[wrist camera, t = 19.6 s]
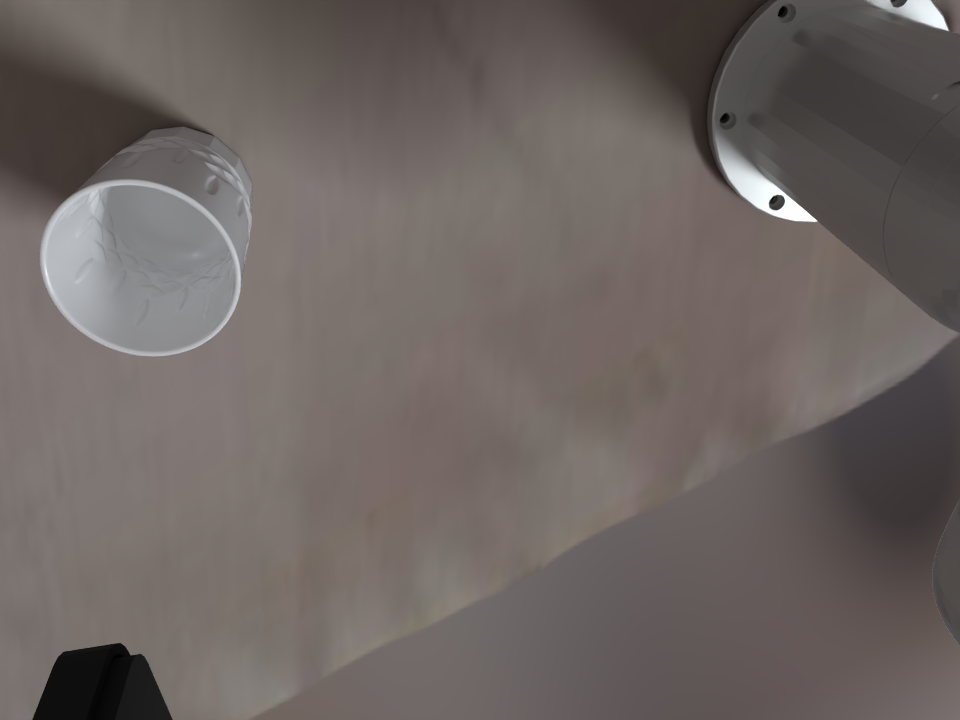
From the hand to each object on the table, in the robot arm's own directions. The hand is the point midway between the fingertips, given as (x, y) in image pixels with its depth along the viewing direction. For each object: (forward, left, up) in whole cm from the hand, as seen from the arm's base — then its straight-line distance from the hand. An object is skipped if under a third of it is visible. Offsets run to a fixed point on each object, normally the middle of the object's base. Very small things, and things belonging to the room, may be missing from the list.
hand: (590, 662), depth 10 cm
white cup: (+13, +6, -38) cm, 41 cm away
